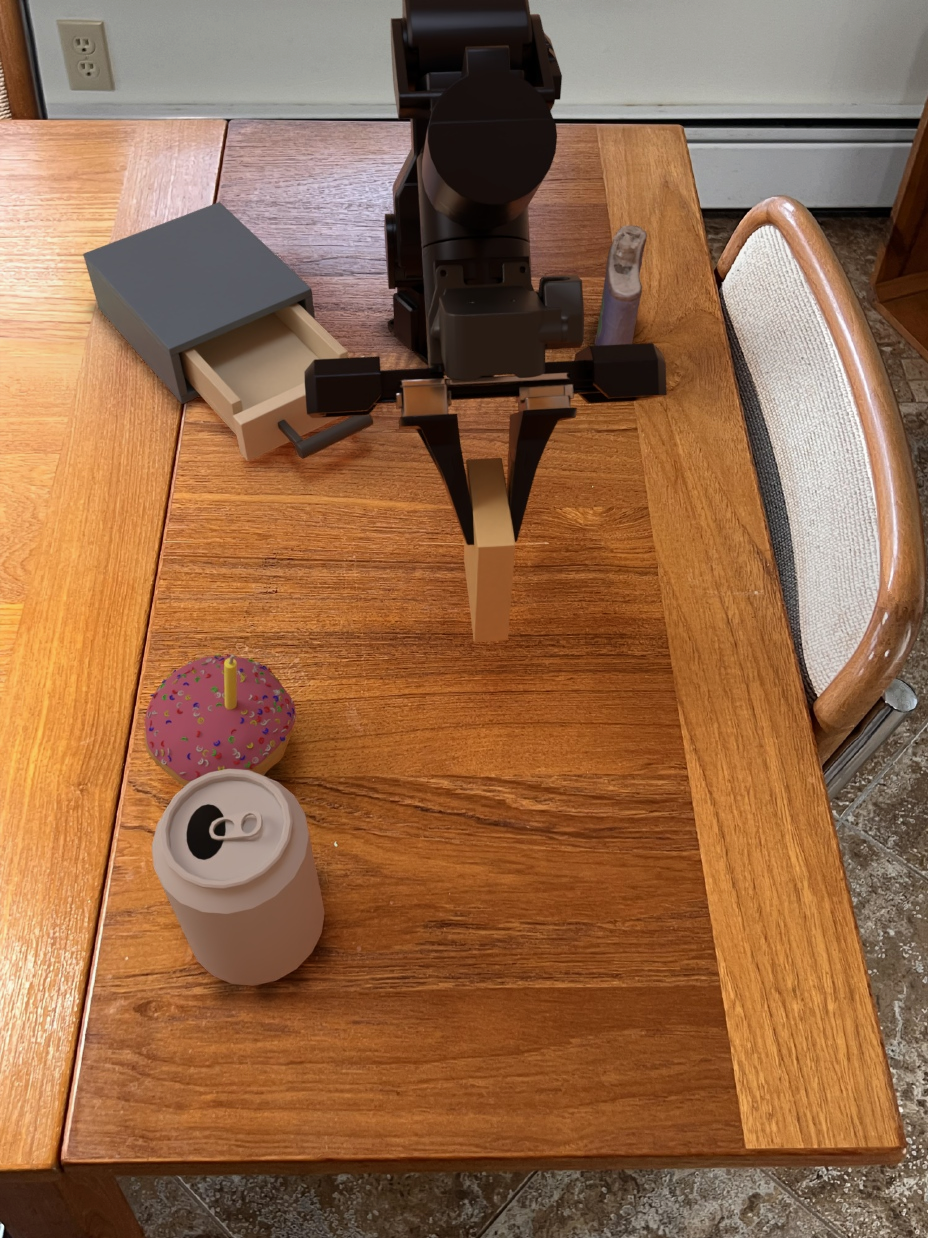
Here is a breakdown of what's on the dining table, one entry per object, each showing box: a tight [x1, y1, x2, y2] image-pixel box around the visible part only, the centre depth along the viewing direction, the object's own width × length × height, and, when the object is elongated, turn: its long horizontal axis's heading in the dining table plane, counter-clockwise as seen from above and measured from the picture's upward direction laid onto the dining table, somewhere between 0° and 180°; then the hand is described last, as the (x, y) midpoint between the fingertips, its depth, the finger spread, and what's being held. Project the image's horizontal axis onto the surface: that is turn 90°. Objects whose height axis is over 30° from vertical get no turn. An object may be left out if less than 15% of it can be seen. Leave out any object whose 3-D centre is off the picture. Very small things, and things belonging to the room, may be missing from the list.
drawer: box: [179, 302, 374, 462], centre depth 87 cm, size 17×11×4 cm, turn 37°
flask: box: [593, 224, 648, 346], centre depth 89 cm, size 9×3×11 cm, turn 172°
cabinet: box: [82, 201, 316, 405], centre depth 93 cm, size 14×12×5 cm
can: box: [151, 769, 325, 987], centre depth 59 cm, size 8×8×12 cm
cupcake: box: [144, 653, 297, 787], centre depth 65 cm, size 9×8×12 cm
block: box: [463, 457, 516, 643], centre depth 66 cm, size 6×2×8 cm, turn 5°
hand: (491, 543), depth 63 cm, fingers closed on block, 2 cm apart
